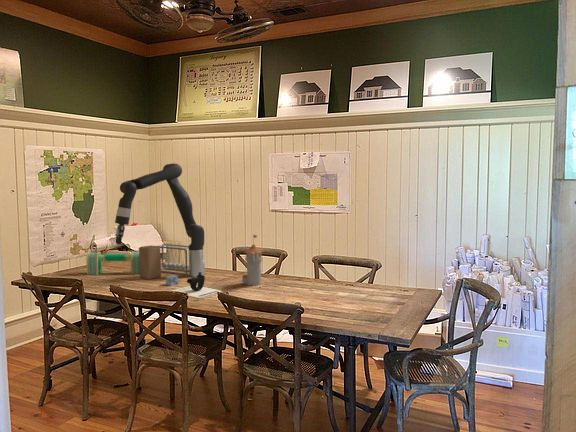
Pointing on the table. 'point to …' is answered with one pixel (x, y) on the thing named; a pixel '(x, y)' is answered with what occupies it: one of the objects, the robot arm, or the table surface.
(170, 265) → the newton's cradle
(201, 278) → the controller
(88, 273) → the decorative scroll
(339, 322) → the table surface
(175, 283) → the cube
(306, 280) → the table surface
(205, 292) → the letter
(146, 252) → the block
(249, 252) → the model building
